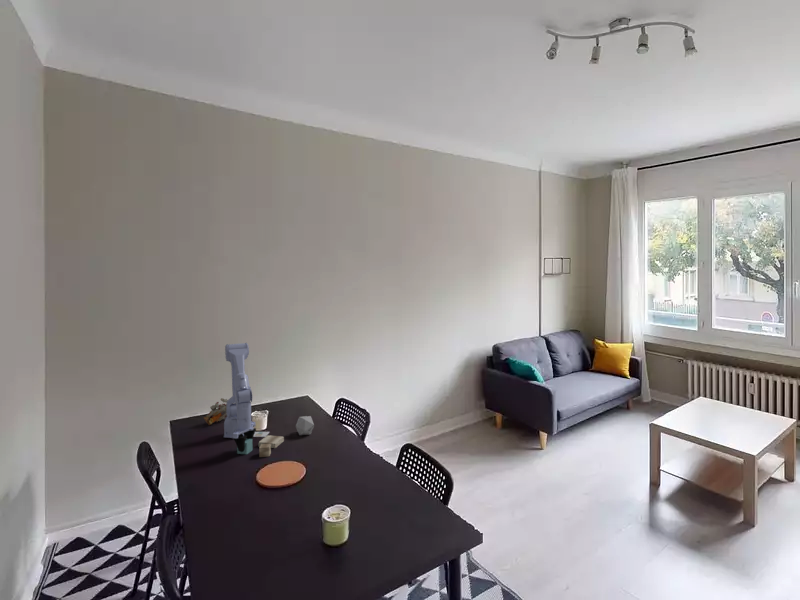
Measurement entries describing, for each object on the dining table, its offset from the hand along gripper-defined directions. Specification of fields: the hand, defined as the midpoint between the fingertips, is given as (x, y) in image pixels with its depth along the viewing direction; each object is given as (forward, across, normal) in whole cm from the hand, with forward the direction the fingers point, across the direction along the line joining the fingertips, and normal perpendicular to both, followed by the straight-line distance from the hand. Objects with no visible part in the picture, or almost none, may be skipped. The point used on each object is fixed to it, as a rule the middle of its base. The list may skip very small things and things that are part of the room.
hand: (244, 448), depth 181 cm
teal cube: (+2, 0, 0) cm, 2 cm away
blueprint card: (+1, +19, +4) cm, 19 cm away
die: (+2, +24, -17) cm, 29 cm away
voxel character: (+2, +29, +30) cm, 42 cm away
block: (+2, -1, -10) cm, 10 cm away
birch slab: (+2, +10, -7) cm, 12 cm away
